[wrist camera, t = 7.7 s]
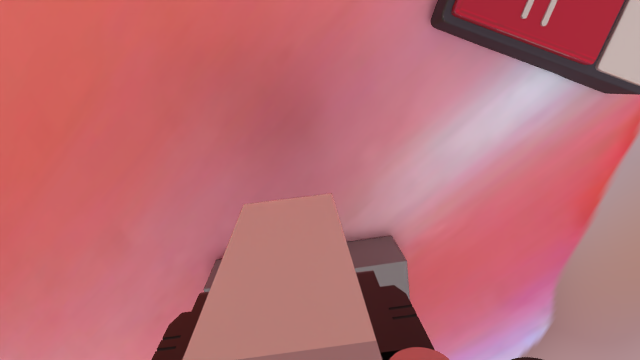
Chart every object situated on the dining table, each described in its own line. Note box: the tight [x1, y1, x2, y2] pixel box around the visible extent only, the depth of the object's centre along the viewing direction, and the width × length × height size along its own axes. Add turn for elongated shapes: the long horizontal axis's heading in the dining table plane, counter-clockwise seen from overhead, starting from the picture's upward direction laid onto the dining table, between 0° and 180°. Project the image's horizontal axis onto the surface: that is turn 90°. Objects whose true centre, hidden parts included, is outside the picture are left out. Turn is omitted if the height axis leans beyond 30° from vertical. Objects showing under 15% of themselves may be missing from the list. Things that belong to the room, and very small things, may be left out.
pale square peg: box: [183, 193, 382, 360], centre depth 12 cm, size 4×4×11 cm
